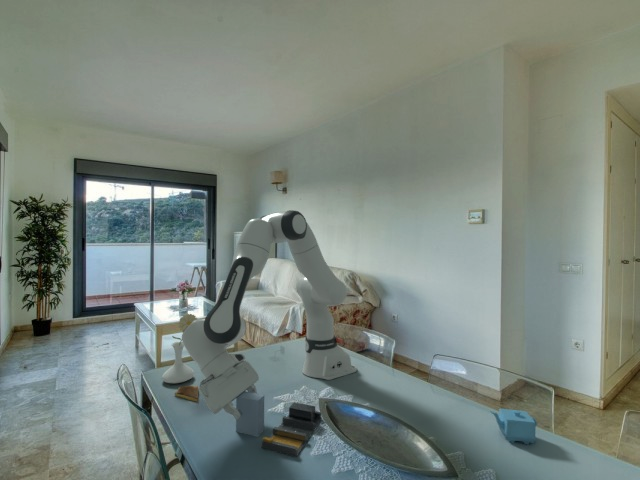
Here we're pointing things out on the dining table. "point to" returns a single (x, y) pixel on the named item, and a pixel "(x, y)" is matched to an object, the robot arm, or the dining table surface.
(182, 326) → the flower in vase
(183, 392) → the shard
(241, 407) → the blue-grey rectangular block
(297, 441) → the rack
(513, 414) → the teapot
